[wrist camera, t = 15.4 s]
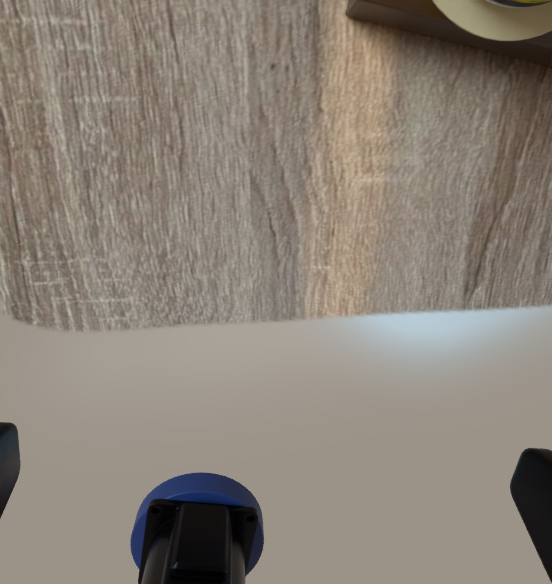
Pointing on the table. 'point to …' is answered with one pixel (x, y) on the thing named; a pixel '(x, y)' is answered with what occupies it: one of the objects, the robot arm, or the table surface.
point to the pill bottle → (518, 3)
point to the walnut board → (468, 24)
